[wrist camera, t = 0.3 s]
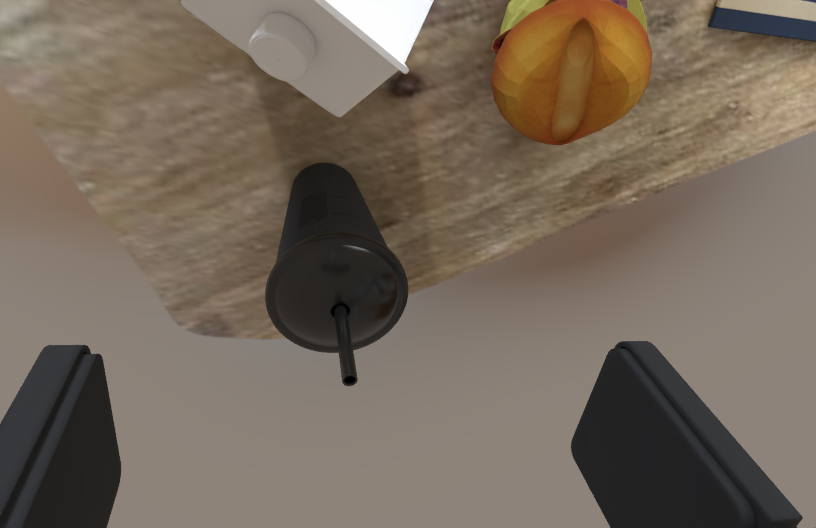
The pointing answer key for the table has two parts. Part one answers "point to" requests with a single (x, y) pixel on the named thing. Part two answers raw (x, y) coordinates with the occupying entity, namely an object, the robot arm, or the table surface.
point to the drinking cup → (333, 270)
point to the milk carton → (321, 41)
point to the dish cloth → (767, 17)
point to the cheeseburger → (569, 66)
